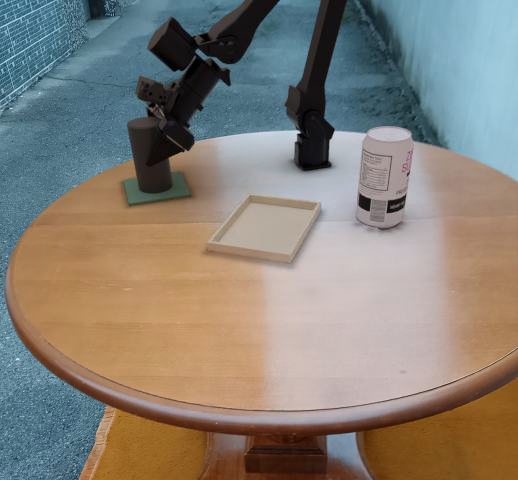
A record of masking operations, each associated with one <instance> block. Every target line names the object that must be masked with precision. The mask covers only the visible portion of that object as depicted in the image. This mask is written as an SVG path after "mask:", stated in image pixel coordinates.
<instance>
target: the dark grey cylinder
mask: <svg viewBox="0 0 518 480" xmlns="http://www.w3.org/2000/svg"><path fill="white" fill-rule="evenodd" d="M160 121H161V118H158V117H147V116H141V117H137V118H133V119H130V120H129V121H128V122H127V123H126V128H127V134H128V138H129V144H130V150H131V154H132V159H133V165H134V169H135V176H136V177H137V181H138V186H139V190H140V191H142V192H144V193H150V194H154V193H161V192H165V191H167V190H169V189H171V188H172V186H173V183H172V176H171V172H172V170H171V169H172V168H171V163H170V158H168V159H165V160H164V161H162V162H160V163H158V164H156V165H154V166H152V167H148V166H147V165H146V164H145V162H146V160H147V158H148V156H149V154H150V152H151V150H152V148H153V147H154V145H155V143H156V141H157V139H158V136H157V129H156V127H158V128H160V127H159V123H160Z"/></svg>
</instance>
